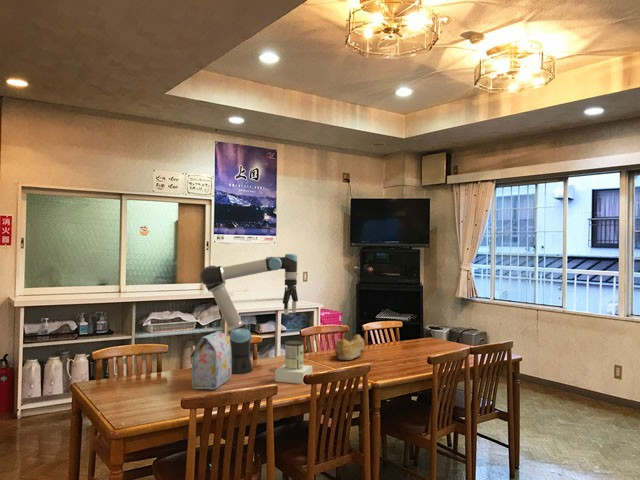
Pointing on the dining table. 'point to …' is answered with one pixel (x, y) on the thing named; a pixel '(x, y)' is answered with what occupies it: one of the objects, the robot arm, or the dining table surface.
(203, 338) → the lunch bag
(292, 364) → the coffee can
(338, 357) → the rough brown rock
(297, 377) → the white square box
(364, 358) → the dining table surface
